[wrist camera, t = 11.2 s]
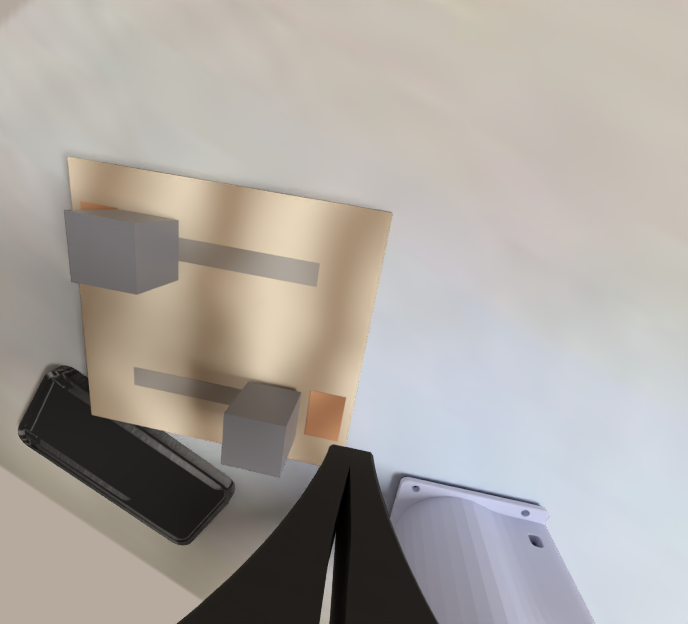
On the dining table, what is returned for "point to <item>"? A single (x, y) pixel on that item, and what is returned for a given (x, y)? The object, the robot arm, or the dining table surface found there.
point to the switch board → (233, 306)
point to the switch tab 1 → (122, 249)
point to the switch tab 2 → (260, 428)
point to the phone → (124, 459)
